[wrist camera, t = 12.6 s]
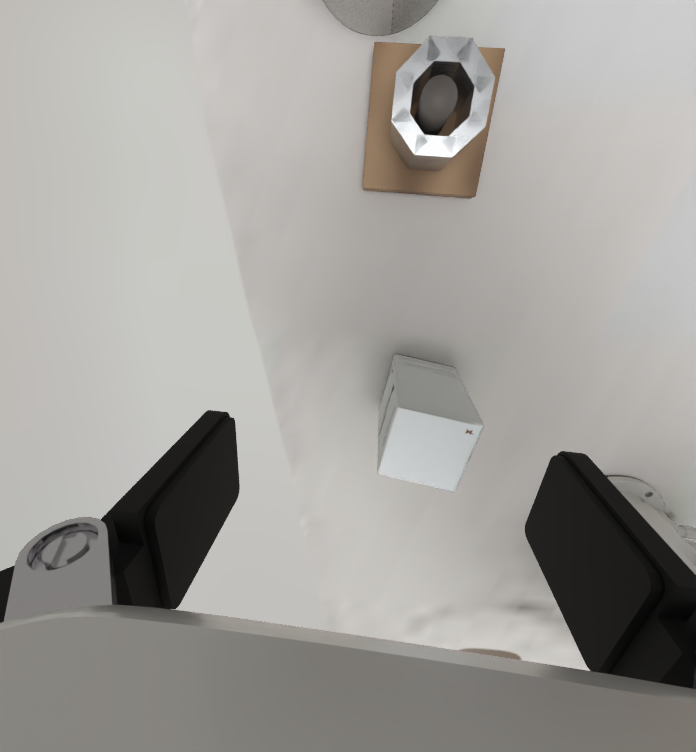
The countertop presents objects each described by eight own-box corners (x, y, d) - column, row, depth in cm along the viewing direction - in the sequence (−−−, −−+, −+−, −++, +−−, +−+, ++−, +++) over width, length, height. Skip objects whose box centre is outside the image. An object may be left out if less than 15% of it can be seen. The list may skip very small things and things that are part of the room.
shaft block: (497, 60, 28) (538, -1, 20) (470, 198, 32) (496, 188, 24) (374, 54, 28) (372, -8, 21) (363, 190, 32) (358, 178, 25)
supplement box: (393, 351, 38) (397, 403, 27) (456, 366, 38) (488, 425, 27) (376, 407, 41) (374, 475, 30) (435, 421, 41) (456, 495, 30)
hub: (478, 78, 27) (503, 39, 21) (461, 172, 29) (479, 159, 24) (396, 74, 27) (400, 34, 21) (386, 167, 30) (387, 153, 24)
